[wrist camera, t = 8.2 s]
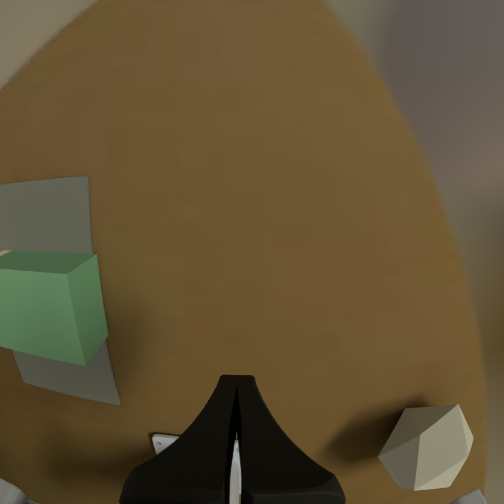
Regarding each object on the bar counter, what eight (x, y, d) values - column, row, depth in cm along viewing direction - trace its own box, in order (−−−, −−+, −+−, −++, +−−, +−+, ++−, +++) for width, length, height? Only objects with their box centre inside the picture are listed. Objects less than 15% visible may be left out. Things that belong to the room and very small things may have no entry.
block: (86, 366, 16) (-9, 343, 16) (108, 335, 20) (18, 320, 20) (67, 274, 15) (-30, 265, 15) (97, 253, 19) (3, 250, 18)
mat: (121, 403, 22) (120, 405, 22) (25, 381, 22) (24, 382, 22) (88, 175, 18) (87, 176, 17) (-17, 187, 17) (-18, 187, 17)
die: (351, 440, 25) (392, 515, 19) (395, 414, 19) (448, 510, 13) (411, 403, 28) (449, 470, 21) (458, 368, 21) (505, 448, 15)
